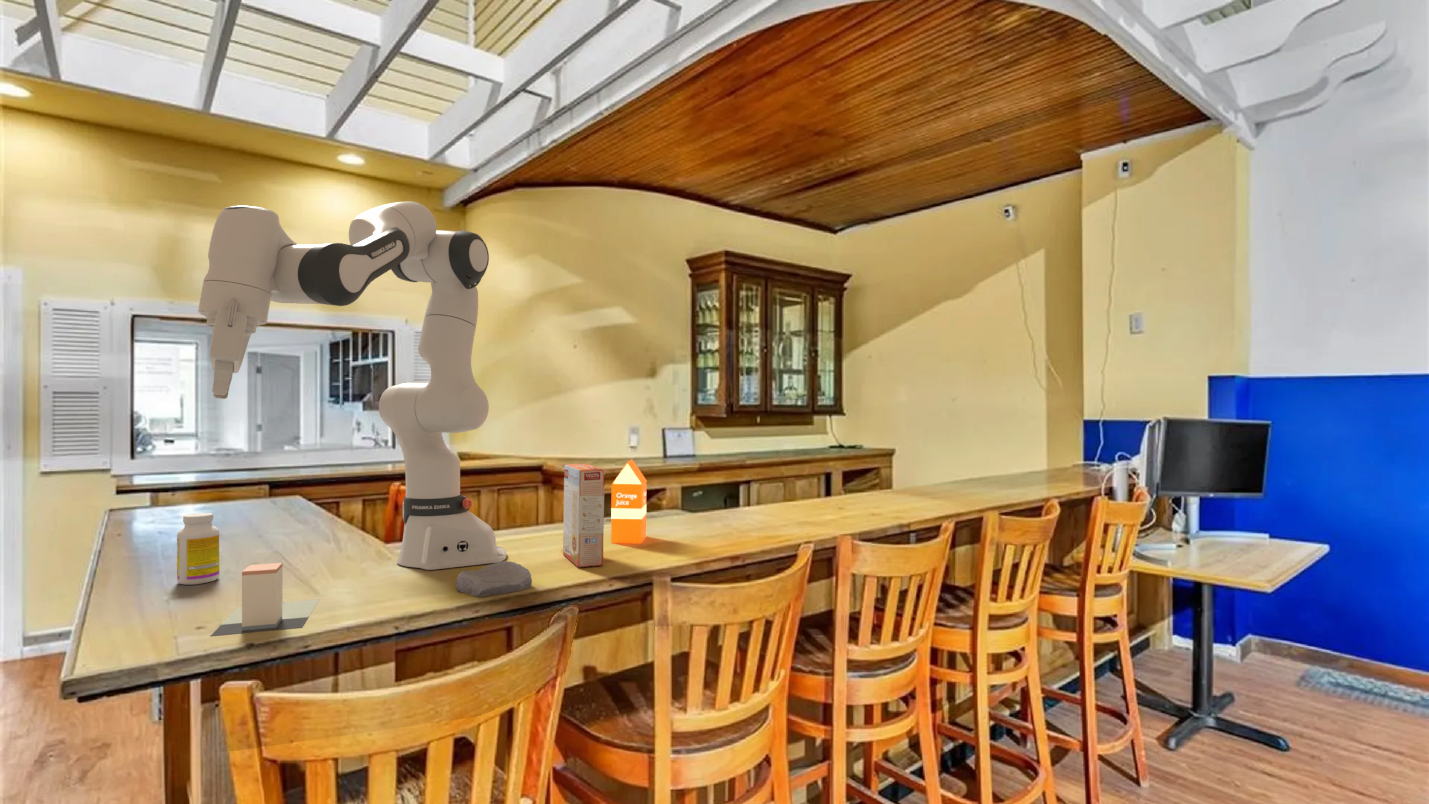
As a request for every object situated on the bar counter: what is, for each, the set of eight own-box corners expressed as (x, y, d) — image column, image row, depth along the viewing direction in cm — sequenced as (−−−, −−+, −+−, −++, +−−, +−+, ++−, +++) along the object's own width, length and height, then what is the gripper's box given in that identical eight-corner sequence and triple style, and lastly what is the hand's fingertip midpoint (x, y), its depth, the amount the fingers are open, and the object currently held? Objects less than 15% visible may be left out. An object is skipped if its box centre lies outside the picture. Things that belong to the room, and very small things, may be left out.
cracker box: (605, 566, 153) (605, 468, 153) (577, 569, 150) (577, 469, 150) (588, 552, 166) (589, 462, 165) (562, 555, 163) (562, 463, 163)
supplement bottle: (227, 578, 140) (228, 512, 140) (195, 587, 134) (195, 518, 134) (201, 575, 142) (201, 511, 142) (168, 584, 136) (168, 516, 136)
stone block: (536, 596, 137) (506, 577, 143) (539, 572, 136) (508, 554, 142) (481, 613, 128) (451, 591, 134) (484, 587, 127) (453, 567, 133)
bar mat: (319, 601, 125) (319, 599, 125) (302, 630, 110) (302, 627, 110) (239, 608, 121) (239, 605, 121) (210, 638, 106) (210, 636, 106)
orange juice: (610, 542, 177) (611, 461, 177) (616, 535, 186) (617, 458, 185) (642, 543, 177) (642, 462, 176) (646, 536, 185) (647, 459, 185)
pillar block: (282, 618, 115) (282, 562, 114) (276, 627, 110) (276, 569, 110) (249, 621, 113) (249, 564, 113) (241, 630, 109) (242, 571, 109)
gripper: (261, 299, 103) (245, 394, 101) (257, 321, 120) (243, 403, 118) (208, 290, 100) (191, 388, 98) (211, 313, 117) (197, 397, 115)
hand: (219, 396), depth 108 cm, fingers open, 8 cm apart
